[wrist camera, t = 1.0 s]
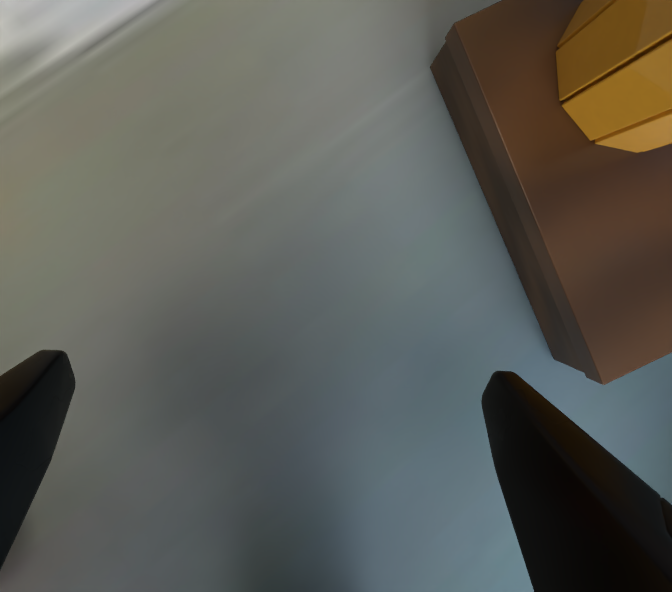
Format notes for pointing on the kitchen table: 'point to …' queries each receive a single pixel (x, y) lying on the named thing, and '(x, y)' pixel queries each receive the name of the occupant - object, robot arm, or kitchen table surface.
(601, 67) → the cup
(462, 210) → the kitchen table surface
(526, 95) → the brown wooden board
